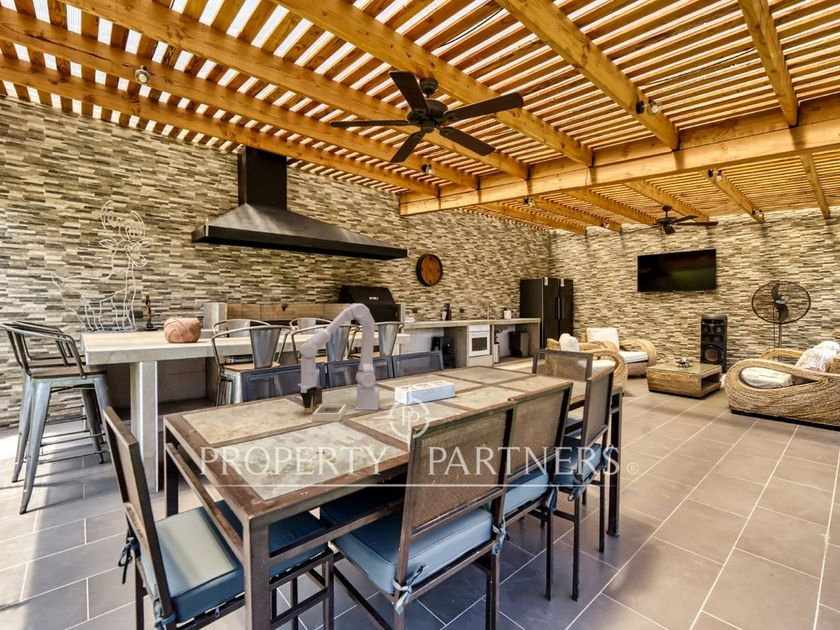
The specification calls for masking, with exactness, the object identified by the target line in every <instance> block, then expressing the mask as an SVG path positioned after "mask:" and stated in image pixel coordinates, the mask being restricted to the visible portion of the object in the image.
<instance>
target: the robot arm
mask: <svg viewBox="0 0 840 630" xmlns="http://www.w3.org/2000/svg"><path fill="white" fill-rule="evenodd" d="M353 320H356V321H357V322H358V323H359V324H360V326H362V328H361V329H362V332H361V346H360V362H359V365H358V371H356V374H355V380H356V382H357V385H356V406H355V408H354V410H356V411H357V410H360V411H365V410H366V411H368V410H369V411H370V410H373V411H375V410H376V411H377V410H379V407H380V403H381V402H380V401H381V400H380V387H379V386H375V383H376V379H377V378H376V375H375V369H374V365H373V361H374V360H373V358H374V344H375V343H374V341H375V329H376V328H375V327H376V322H375V320H374V317H373V316H372V314H371V312H370V309H369V307H367V306H366V305H365V304H364V303H355V302H354V303H351V304H349V305H348V307H346V308H345V309H343V310H342V311H341V312H340V313H339V315H337V316H336V317H335V318H334V319H333V321H331V322H330V323H329V324H328V325H327V327H325V328H320V329H319V330H318V329H316V330H315V333H314V334H313V335H312V336H311V337H310V338H307V339H306V342H304V343H303V344H301V346H300V348H299V352H300V354H301V356H300V360H301V361H300V379H301V380H300V383H298V385H297V386H298V387H300V390H298V393H299V395H300V397H301V400H302V404H303V403H304V404H303V406H304V409H305V408H310V407H311V402H312V396H313V403H314V398H315V394H316V391H317V389H318V387H319V386H318V385H317V362H316V355H317V353H318V350H321V348H323V346H325V345H326V344H327V343H328V342H329V341H330V340H331V337H332V334H333V333H334V332H335V331H337V330H338V329H339V328H340V327H341V326H342V325H343V324H345V322H348V321H353ZM315 386H318V387H315Z"/></svg>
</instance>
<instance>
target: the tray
mask: <svg viewBox="0 0 840 630" xmlns="http://www.w3.org/2000/svg"><path fill="white" fill-rule="evenodd" d="M322 407H342V408H341V409H340V411H339V412H338V413H318V412H319V410H320V409H321V408H322ZM346 413H347V403H342V404H341V403H321V404H319V407H317V408H316V409H315V411H313V412H312V422H315V423H317V422H321V423H323V422H324V423H325V422H329V423H331V422H333V423H334V422H335V423H337V422H339V423H340V421H341V420H342V419H343V417H344V416H345V414H346Z"/></svg>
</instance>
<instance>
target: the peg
mask: <svg viewBox="0 0 840 630" xmlns="http://www.w3.org/2000/svg"><path fill="white" fill-rule="evenodd" d="M304 412H305V413H306V414H307V413H314V406H313V396H312V402H311V407H310V408H305V407H304Z"/></svg>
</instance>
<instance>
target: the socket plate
mask: <svg viewBox="0 0 840 630" xmlns="http://www.w3.org/2000/svg"><path fill="white" fill-rule="evenodd" d="M341 408H342V407H322V408H321V409H320V410H319V412H318V413H338V412H339V411H340V409H341Z"/></svg>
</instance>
